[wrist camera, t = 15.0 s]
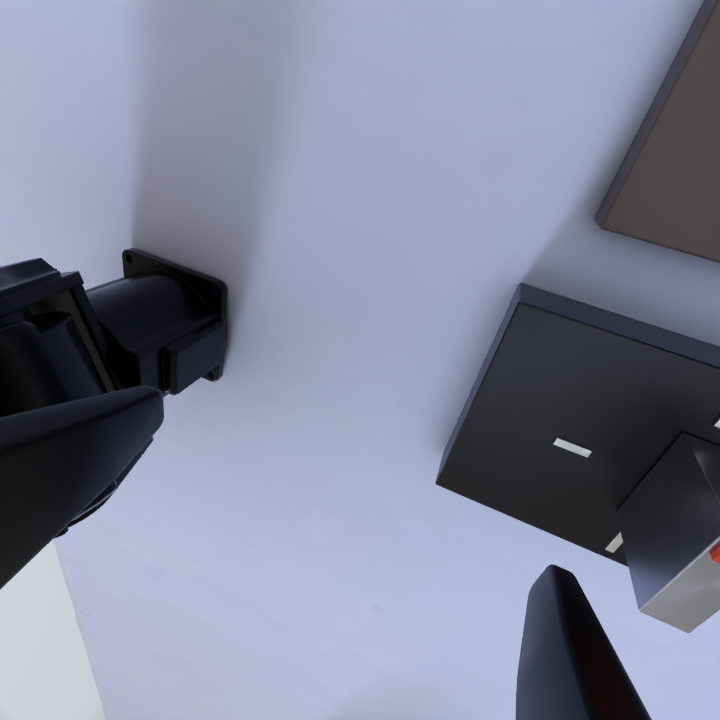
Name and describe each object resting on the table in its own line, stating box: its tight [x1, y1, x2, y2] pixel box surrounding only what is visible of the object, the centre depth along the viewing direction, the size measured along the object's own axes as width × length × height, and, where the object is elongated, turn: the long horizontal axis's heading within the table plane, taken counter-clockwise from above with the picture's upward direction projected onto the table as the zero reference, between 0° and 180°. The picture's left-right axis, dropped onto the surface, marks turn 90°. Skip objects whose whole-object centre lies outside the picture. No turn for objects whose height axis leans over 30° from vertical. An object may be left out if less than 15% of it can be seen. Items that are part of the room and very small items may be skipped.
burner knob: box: [616, 433, 720, 633], centre depth 14 cm, size 5×2×5 cm, turn 168°
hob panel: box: [436, 283, 720, 567], centre depth 18 cm, size 13×10×3 cm
